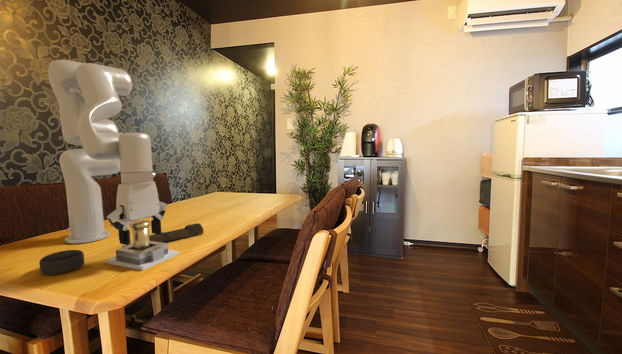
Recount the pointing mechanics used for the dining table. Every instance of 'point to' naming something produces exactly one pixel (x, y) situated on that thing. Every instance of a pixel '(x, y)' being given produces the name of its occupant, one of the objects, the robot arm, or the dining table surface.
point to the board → (146, 265)
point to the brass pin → (140, 234)
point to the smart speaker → (61, 262)
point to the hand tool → (178, 233)
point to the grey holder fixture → (142, 253)
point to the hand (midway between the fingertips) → (141, 238)
